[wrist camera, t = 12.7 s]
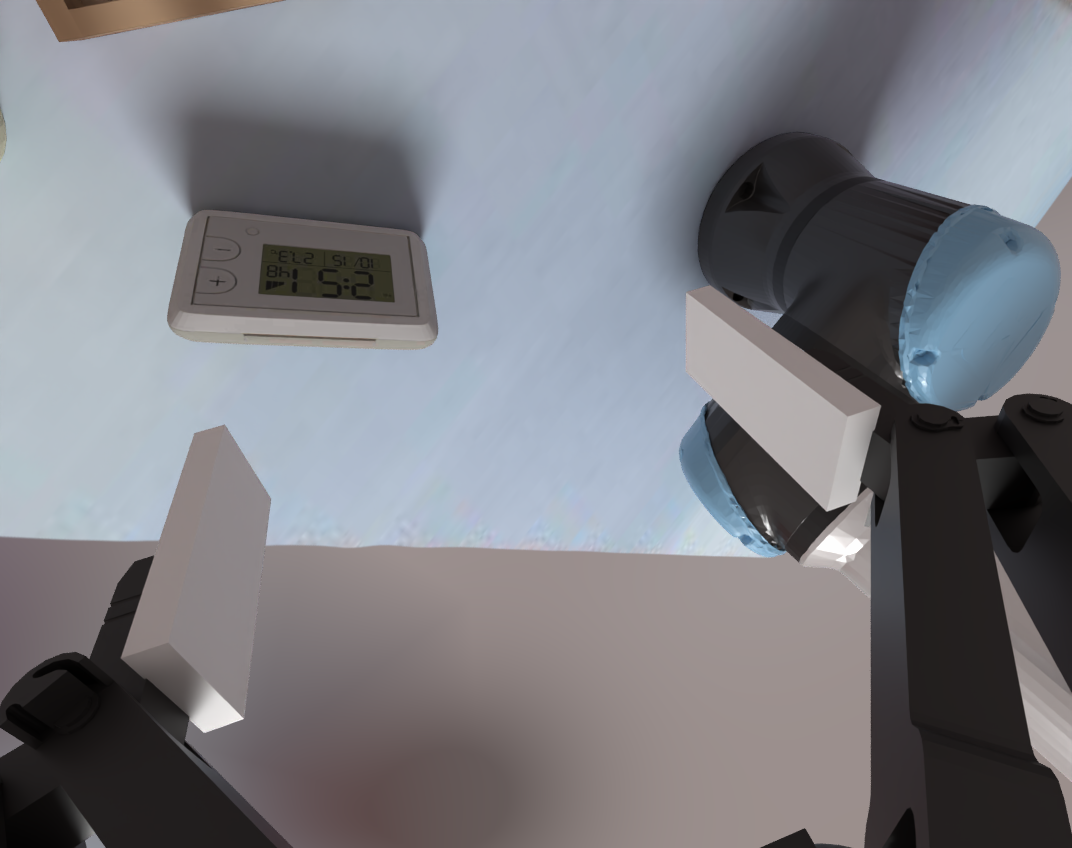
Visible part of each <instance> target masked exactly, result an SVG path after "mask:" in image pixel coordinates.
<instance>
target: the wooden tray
mask: <svg viewBox="0 0 1072 848" xmlns="http://www.w3.org/2000/svg"><path fill="white" fill-rule="evenodd" d="M36 1H37V3H38V5H39V7H40V8H41V10H42V12H43V14H44V16H45V17H46V19H47V21H48V23H49V25H50V26H51V28H52V30H53V32H54V33H55V35H56V37H57V39H58V41H59V42H66V41H77V40H85V39H90V38H95V37H100V36H105V35H110V34H116V33H121V32H126V31H131V30H136V29H141V28H146V27H151V26H156V25H161V24H167V23H172V22H177V21H182V20H187V19H192V18H197V17H202V16H207V15H213V14H218V13H223V12H228V11H233V10H238V9H243V8H248V7H253V6H259V5H264V4H269V3H274V2H279V1H284V0H36Z"/></svg>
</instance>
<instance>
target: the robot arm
mask: <svg viewBox="0 0 1072 848" xmlns="http://www.w3.org/2000/svg"><path fill="white" fill-rule="evenodd" d="M698 255H699V261H700V265H701V269H702V272H703V274H704V276H705V278H706V280H707V281H708V283H709V284H710V285H711V286H710V285H709V286H706V287H702V288H699V289H695V290H692V291H688V292H686V372H687V373H688V374H689V375H690V376H691V377H692V378H693V379H694V380H695V381H696V382H697V383H698V384H699V385H700V386H701V387H702V388H703V389H704V390H705V391H706V392H707V393H708V394H709V395H710V396H711V397H712V398H713V399H712V400H711V401H709V402H708V403H707V404H705V405H704V406H703V408H702V410H701V413H700V416H699V417H698V418H697V420H696V421H695V423H694V424H693V425H692V427H691V428H690V429H689V430H688V432H687V433H686V434H685V436H684V437H683V439H682V441H681V444H680V448H679V455H680V462H681V466H682V470H683V473H684V475H685V477H686V479H687V481H688V483H689V485H690V487H691V488H692V490H693V491H694V493H695V494H696V496H697V497H698V499H699V500H700V501H701V503H702V504H703V505H704V507H705V508H706V509H707V510H708V511H709V513H710V514H711V515H712V516H713V517H714V518H715V519H716V521H717V522H718V523H719V524H720V525H721V526H722V527H723V528H724V529H725V530H726V531H727V532H728V533H729V534H731V535H732V536H733V537H738V538H739V539H740V540H741V542H742V543H743V544H744V545H745V546H746V547H747V548H749V549H750V550H752V551H753V552H755V553H757V554H759V555H762V556H765V557H775V556H777V555H782V554H784V553H786V551H787V552H788V553H789V554H790V555H791V556H793V557H794V558H795V559H796V560H797V561H798V562H799V563H800V564H801V565H802V566H804V567H821V568H831V569H834V570H838V571H840V572H841V573H842V574H843V575H844V576H845V577H846V578H848V579H849V580H850V581H851V582H852V583H853V584H854V585H855V586H856V587H858V588H859V589H860V590H861V591H862V592H863V593H864V594H865V595H866V596H867V597H869V598H870V599H871V798H870V807H869V813H868V818H867V824H866V833H865V847H864V848H1072V833H1071V828H1070V823H1069V819H1068V814H1067V810H1066V805H1065V800H1064V797H1063V794H1062V791H1061V788H1060V784H1059V781H1058V779H1057V778H1056V776H1055V774H1054V773H1053V772H1052V770H1051V769H1050V768H1048V767H1046V766H1045V765H1043V764H1041V763H1039V762H1038V761H1037V759H1036V758H1035V756H1034V753H1033V750H1032V746H1033V747H1034V748H1035V749H1036V750H1037V751H1038V752H1039V753H1040V754H1041V755H1042V756H1044V757H1045V758H1046V759H1047V760H1048V761H1049V762H1050V763H1051V764H1052V765H1054V766H1055V767H1056V768H1057V769H1058V770H1059V771H1060V772H1061V773H1062V774H1063V775H1065V776H1066V777H1067V778H1068V779H1069V780H1070V781H1071V782H1072V404H1070V403H1068V402H1065V401H1063V400H1061V399H1058V398H1055V397H1052V396H1048V395H1042V394H1021V395H1014V396H1012V397H1010V398H1008V399H1006V401H1005V403H1004V405H1003V407H1002V409H1001V411H1000V414H999V415H998V416H986V417H972V418H964V417H963V416H961V415H960V414H959V413H957V411H961V410H965V409H968V408H970V407H973V406H974V405H975V403H976V402H977V400H981V401H982V400H985V399H988V398H989V397H991V396H992V395H993V394H995V393H996V392H997V391H999V390H1000V389H1001V388H1002V387H1003V386H1004V385H1005V384H1007V383H1008V382H1009V381H1010V380H1011V379H1012V378H1013V377H1014V376H1015V374H1016V373H1017V372H1018V371H1019V370H1020V369H1021V367H1022V366H1023V365H1024V364H1025V362H1026V361H1027V360H1028V359H1029V357H1030V356H1031V355H1032V353H1033V352H1034V350H1035V349H1036V347H1037V345H1038V344H1039V342H1040V340H1041V338H1042V337H1043V335H1044V333H1045V331H1046V329H1047V327H1048V325H1049V323H1050V320H1051V318H1052V315H1053V313H1054V308H1055V303H1056V300H1057V297H1058V294H1059V289H1060V278H1061V277H1060V276H1061V273H1060V263H1059V259H1058V255H1057V253H1056V250H1055V248H1054V246H1053V245H1052V243H1051V242H1050V240H1049V239H1048V238H1047V237H1046V236H1045V235H1044V234H1043V233H1042V232H1040V231H1039V230H1037V229H1035V228H1034V227H1032V226H1029V225H1027V224H1024V223H1021V222H1018V221H1015V220H1013V219H1010V218H1007V217H1004V216H1001V215H1000V214H999V213H998V212H997V211H995V210H994V209H991V208H989V207H987V206H981V205H975V204H974V205H970V204H966V203H963V202H959V201H956V200H952V199H949V198H945V197H942V196H938V195H935V194H931V193H927V192H924V191H920V190H917V189H913V188H910V187H906V186H903V185H899V184H895V183H892V182H888V181H884V180H881V179H878V178H875V177H874V176H873V175H872V174H871V173H870V172H869V171H868V170H867V169H866V168H865V167H864V166H862V165H861V164H860V163H859V162H858V161H857V160H856V159H855V158H854V157H853V156H852V155H851V153H850V152H849V151H848V150H847V149H846V148H845V147H843V146H842V145H841V144H839V143H837V142H835V141H833V140H831V139H828V138H825V137H821V136H817V135H813V134H809V133H801V132H793V133H786V134H781V135H778V136H775V137H772V138H770V139H768V140H765V141H763V142H762V143H760V144H758V145H756V146H755V147H753V148H752V149H750V150H749V151H748V152H746V153H745V154H744V155H743V156H742V157H741V158H739V159H738V160H737V161H736V162H735V163H734V164H733V165H732V167H731V168H730V169H729V170H728V171H727V172H726V174H725V175H724V176H723V178H722V179H721V180H720V182H719V183H718V185H717V186H716V188H715V190H714V191H713V193H712V195H711V197H710V199H709V201H708V204H707V206H706V208H705V211H704V214H703V217H702V221H701V225H700V230H699V237H698ZM742 307H743V308H747V309H751V310H758V311H765V312H772V313H778V314H783V315H782V317H781V318H780V319H779V320H778V321H777V323H776V324H775V325H774V326H773V328H770V327H769V326H767V325H766V324H764V323H763V322H762V321H760V320H759V319H757V318H756V317H754V316H753V315H752V314H750V313H749V312H747V311H746V310H744V309H743V308H742ZM791 342H792V343H791ZM794 344H795V345H794ZM798 347H799V348H798ZM801 349H802V350H801ZM270 504H271V498H270V496H269V495H268V493H267V492H266V490H265V488H264V487H263V485H262V484H261V482H260V480H259V479H258V477H257V476H256V474H255V472H254V471H253V469H252V467H251V466H250V464H249V463H248V461H247V459H246V458H245V456H244V455H243V453H242V451H241V450H240V448H239V447H238V445H237V443H236V442H235V440H234V439H233V437H232V435H231V434H230V432H229V431H228V429H227V427H226V426H225V425H222V426H218V427H215V428H211V429H208V430H204V431H201V432H197V433H194V437H193V440H192V443H191V446H190V449H189V452H188V455H187V458H186V461H185V464H184V467H183V470H182V473H181V476H180V479H179V482H178V485H177V488H176V491H175V494H174V498H173V501H172V504H171V507H170V510H169V513H168V516H167V519H166V522H165V525H164V528H163V531H162V534H161V537H160V540H159V543H158V546H157V550H156V552H155V555H154V556H151V557H148V558H145V559H141V560H138V561H135V562H134V563H133V565H132V566H131V567H130V568H129V570H128V571H127V572H126V573H125V575H124V576H123V577H122V579H121V580H120V581H119V583H118V584H117V587H116V590H115V592H114V595H113V598H112V601H111V603H110V604H111V607H110V608H108V611H107V614H106V616H105V619H104V622H105V624H104V625H102V627H101V630H100V632H99V635H98V638H97V640H96V643H95V646H94V648H93V651H92V654H91V656H90V659H88V658H87V657H86V656H84V655H82V654H79V653H77V652H72V653H63V654H60V655H58V656H55V657H53V658H50V659H48V660H45V661H44V662H43V663H41V664H39V665H38V666H36V667H35V668H33V669H32V670H30V671H29V672H28V673H27V674H25V676H23V677H22V678H21V679H20V680H19V681H18V682H17V683H16V684H15V685H14V686H13V687H12V688H11V690H10V691H9V693H8V694H7V695H6V697H5V698H4V700H3V701H2V703H1V706H0V728H2V729H3V730H5V731H6V732H8V733H9V734H11V735H13V736H14V737H16V738H17V739H19V740H21V741H22V742H24V744H22V745H21V746H19V747H17V748H16V749H14V750H12V751H11V752H9V753H7V754H6V755H4V756H2V757H1V758H0V848H86V843H85V840H86V839H88V838H89V837H91V836H92V835H94V834H95V833H96V835H97V836H98V837H99V839H100V840H101V842H102V843H103V844H104V846H105V847H106V848H293V847H292V846H291V845H290V844H289V843H288V842H287V841H286V840H285V839H284V838H283V837H282V836H281V835H280V834H279V833H278V832H277V831H276V830H275V829H274V828H273V827H272V826H271V825H270V824H269V823H268V822H267V821H266V820H265V819H264V818H263V817H262V816H261V815H260V814H259V813H258V812H257V811H256V810H255V809H254V808H253V807H252V806H251V805H250V804H249V803H248V802H247V801H246V800H245V799H244V798H243V797H242V796H241V795H240V794H239V793H238V792H237V791H236V790H235V789H234V788H233V787H232V786H231V785H230V784H229V783H228V782H227V781H226V780H225V779H224V778H223V777H222V776H221V775H220V774H219V773H218V772H217V771H216V770H215V769H214V768H213V767H212V766H211V765H210V764H209V763H208V762H207V761H206V760H205V759H204V758H203V757H202V755H200V754H199V753H198V752H197V750H196V749H195V748H194V747H192V746H191V745H190V744H189V743H188V742H187V741H185V737H186V732H187V727H188V722H189V720H190V721H192V722H193V723H194V724H195V725H196V726H197V727H199V729H201V730H202V731H203V732H204V733H205V732H208V731H211V730H213V729H217V728H220V727H222V726H225V725H228V724H231V723H234V722H236V721H239V720H242V719H244V714H245V706H246V697H247V690H248V682H249V674H250V665H251V657H252V649H253V641H254V633H255V625H256V617H257V609H258V600H259V593H260V585H261V577H262V568H263V560H264V552H265V544H266V536H267V528H268V520H269V512H270ZM761 848H850V847H846V846H841V845H833V844H814V843H813V841H812V839H811V838H810V836H809V834H808V832H807V831H806V829H802V830H800V831H798V832H795V833H793V834H791V835H788V836H786V837H784V838H781V839H779V840H777V841H775V842H772V843H770V844H768V845H765V846H763V847H761Z"/></svg>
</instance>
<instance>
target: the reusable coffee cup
mask: <svg viewBox="0 0 1072 848" xmlns="http://www.w3.org/2000/svg"><path fill="white" fill-rule="evenodd" d="M5 146H6V128H5V122H4V119H3V115H2V112H1V109H0V161H1V159H2V157H3V155H4V152H5Z"/></svg>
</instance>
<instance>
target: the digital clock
mask: <svg viewBox="0 0 1072 848" xmlns="http://www.w3.org/2000/svg"><path fill="white" fill-rule="evenodd" d="M167 321H168V324H169V327H170V328H171V330H172V331H173V332H174V333H175V334H176V335H178V336H180V337H183V338H185V339H187V340H191V341H196V342H208V343H228V344H252V345H280V346H307V347H335V348H363V349H396V350H418V349H423V348H426V347H428V346H430V345H432V344H433V343H434V341H435V340H436V338H437V335H438V323H437V315H436V309H435V302H434V295H433V289H432V282H431V276H430V269H429V263H428V256H427V250H426V246H425V244H424V242H423V241H422V240H421V239H420V237H419V236H418V235H417V234H416V233H414V232H411V231H407V230H400V229H392V228H383V227H374V226H364V225H355V224H345V223H336V222H326V221H317V220H307V219H298V218H288V217H279V216H269V215H260V214H250V213H241V212H231V211H219V210H201V211H199V212H197V213H196V214H195V215H194V216H193V217H192V218H191V219H190V220H189V221H188V223H187V226H186V230H185V234H184V239H183V243H182V248H181V252H180V257H179V262H178V266H177V271H176V275H175V280H174V284H173V289H172V294H171V298H170V303H169V308H168V315H167Z"/></svg>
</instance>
